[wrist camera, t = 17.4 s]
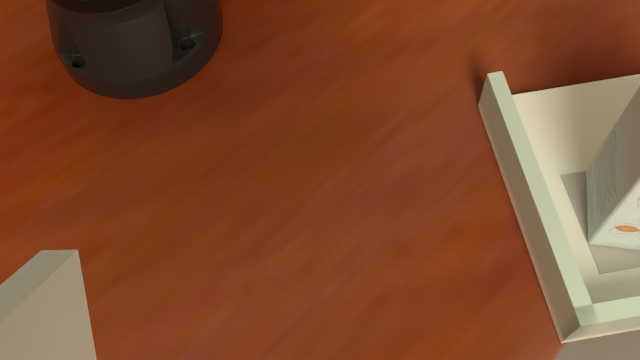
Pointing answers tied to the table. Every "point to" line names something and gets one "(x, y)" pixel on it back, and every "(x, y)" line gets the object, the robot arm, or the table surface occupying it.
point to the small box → (616, 184)
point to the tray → (564, 198)
